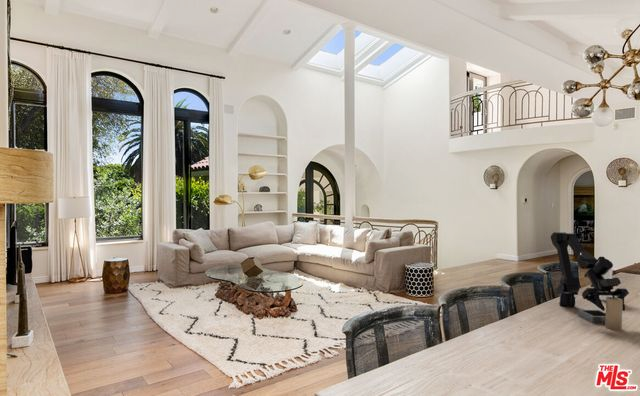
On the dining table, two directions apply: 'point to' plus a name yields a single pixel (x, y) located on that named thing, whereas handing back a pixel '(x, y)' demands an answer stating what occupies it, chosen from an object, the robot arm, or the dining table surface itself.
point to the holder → (593, 315)
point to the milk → (606, 276)
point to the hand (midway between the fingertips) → (614, 310)
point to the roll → (613, 313)
